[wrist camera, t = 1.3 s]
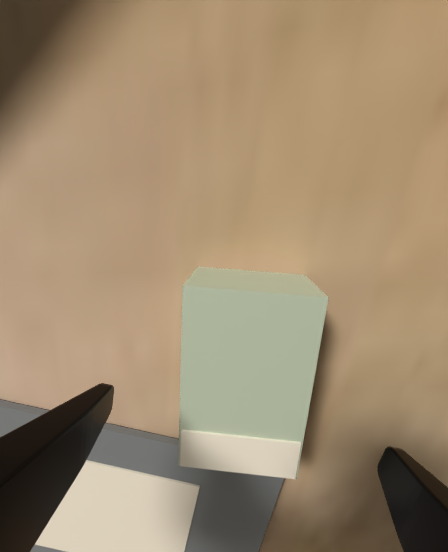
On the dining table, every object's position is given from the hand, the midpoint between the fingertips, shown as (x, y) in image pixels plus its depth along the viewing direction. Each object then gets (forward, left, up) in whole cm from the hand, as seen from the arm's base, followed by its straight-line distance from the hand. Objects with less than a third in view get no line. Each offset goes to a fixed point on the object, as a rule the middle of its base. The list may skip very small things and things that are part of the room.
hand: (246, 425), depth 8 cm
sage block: (0, 0, -5) cm, 5 cm away
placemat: (+6, +13, -5) cm, 15 cm away
